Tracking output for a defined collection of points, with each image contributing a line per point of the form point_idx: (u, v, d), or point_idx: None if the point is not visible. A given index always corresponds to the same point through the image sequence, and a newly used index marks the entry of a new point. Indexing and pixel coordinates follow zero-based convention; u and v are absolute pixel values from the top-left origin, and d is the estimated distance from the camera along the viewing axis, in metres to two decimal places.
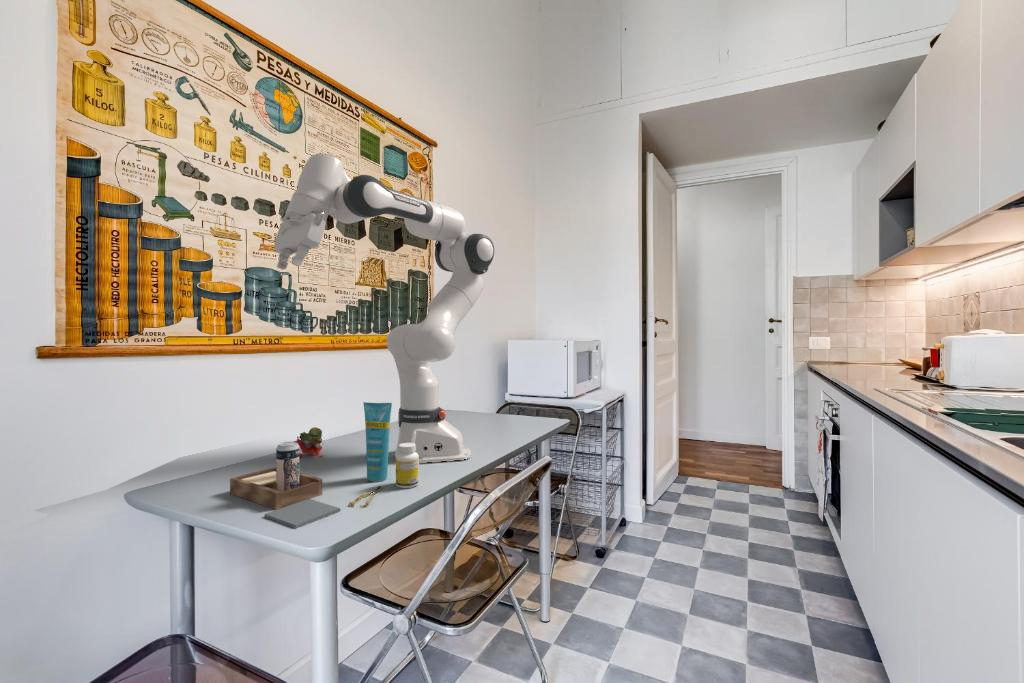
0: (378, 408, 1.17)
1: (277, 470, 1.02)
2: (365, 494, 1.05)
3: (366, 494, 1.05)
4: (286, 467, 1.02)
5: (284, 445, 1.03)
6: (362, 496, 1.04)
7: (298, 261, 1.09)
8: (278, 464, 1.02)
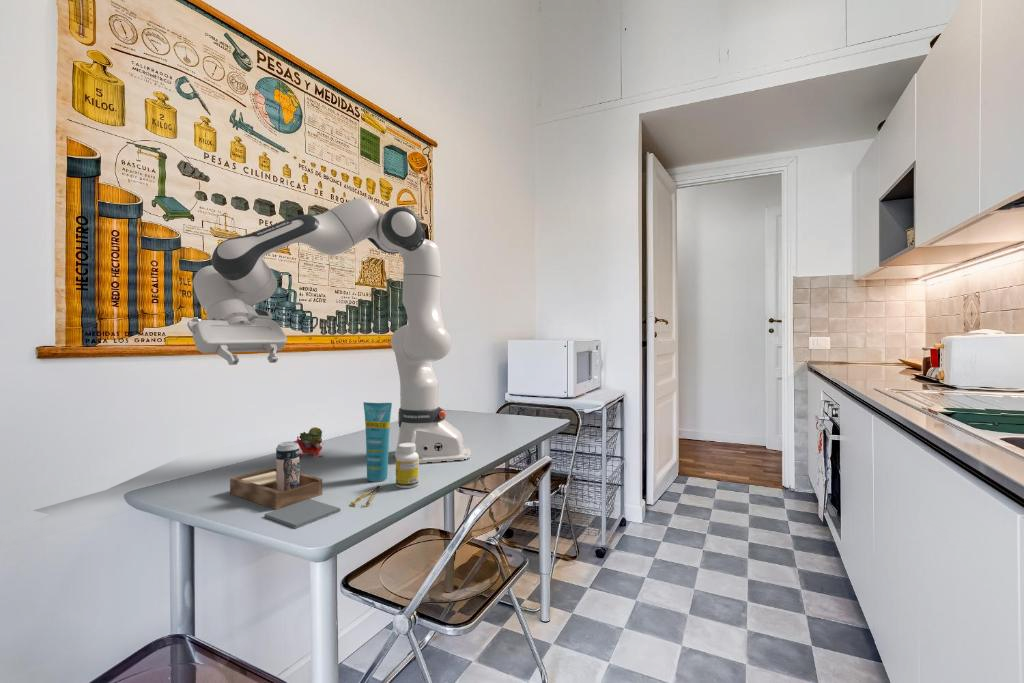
0: (378, 408, 1.17)
1: (277, 470, 1.02)
2: (365, 494, 1.05)
3: (366, 494, 1.05)
4: (286, 467, 1.02)
5: (284, 445, 1.03)
6: (362, 496, 1.04)
7: (229, 360, 1.05)
8: (278, 464, 1.02)
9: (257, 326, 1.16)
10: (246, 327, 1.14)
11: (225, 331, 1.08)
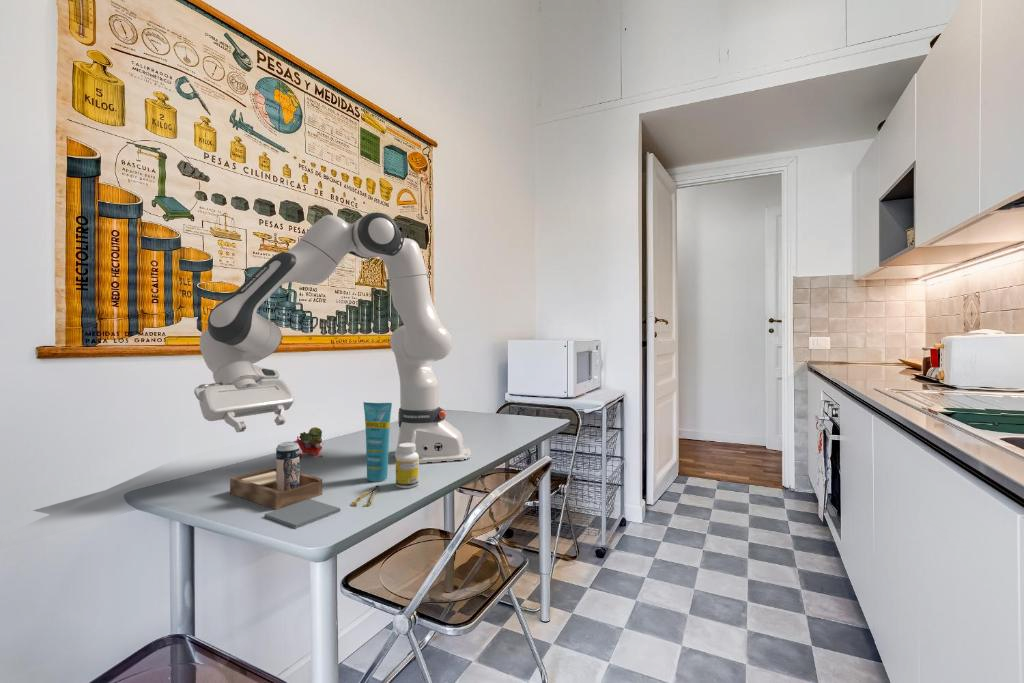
0: (378, 408, 1.17)
1: (277, 470, 1.02)
2: (365, 493, 1.05)
3: (366, 493, 1.06)
4: (286, 467, 1.02)
5: (284, 445, 1.03)
6: (363, 495, 1.04)
7: (237, 427, 1.04)
8: (278, 464, 1.02)
9: (264, 387, 1.15)
10: (253, 389, 1.13)
11: (232, 396, 1.07)
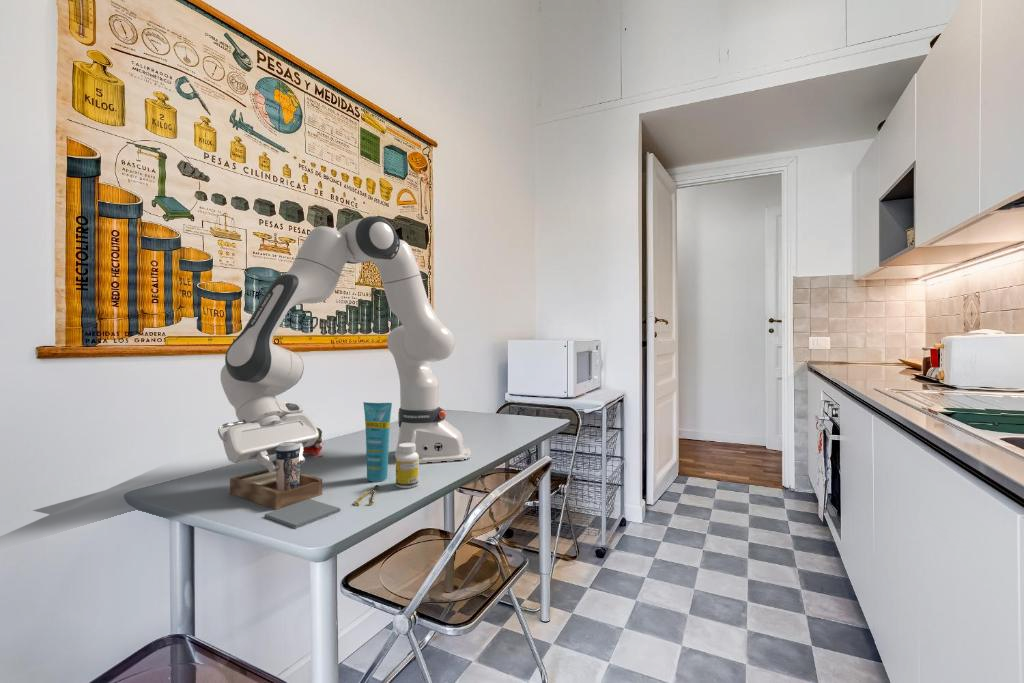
0: (378, 408, 1.17)
1: (277, 470, 1.02)
2: (366, 493, 1.06)
3: (367, 493, 1.06)
4: (287, 467, 1.02)
5: (284, 445, 1.03)
6: (364, 495, 1.05)
7: (270, 467, 1.01)
8: None
9: (288, 423, 1.10)
10: (277, 426, 1.08)
11: (257, 436, 1.02)
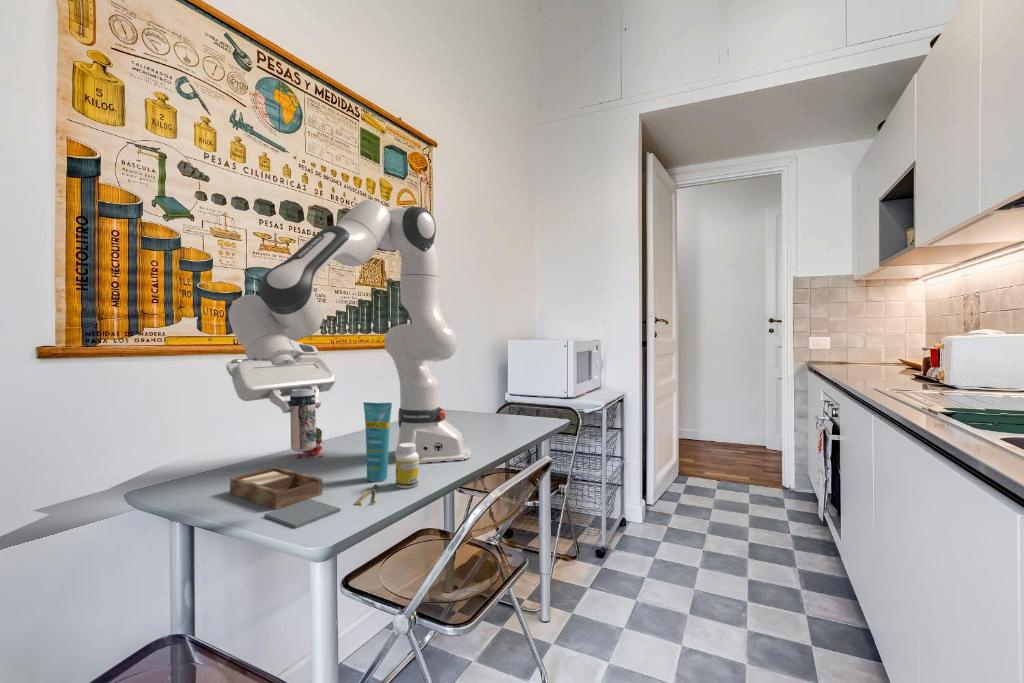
0: (378, 408, 1.17)
1: (291, 418, 0.93)
2: (367, 492, 1.06)
3: (367, 492, 1.06)
4: (302, 414, 0.92)
5: (299, 391, 0.93)
6: (365, 494, 1.05)
7: (284, 408, 0.92)
8: (292, 411, 0.93)
9: (302, 364, 1.01)
10: (291, 367, 0.98)
11: (269, 374, 0.93)
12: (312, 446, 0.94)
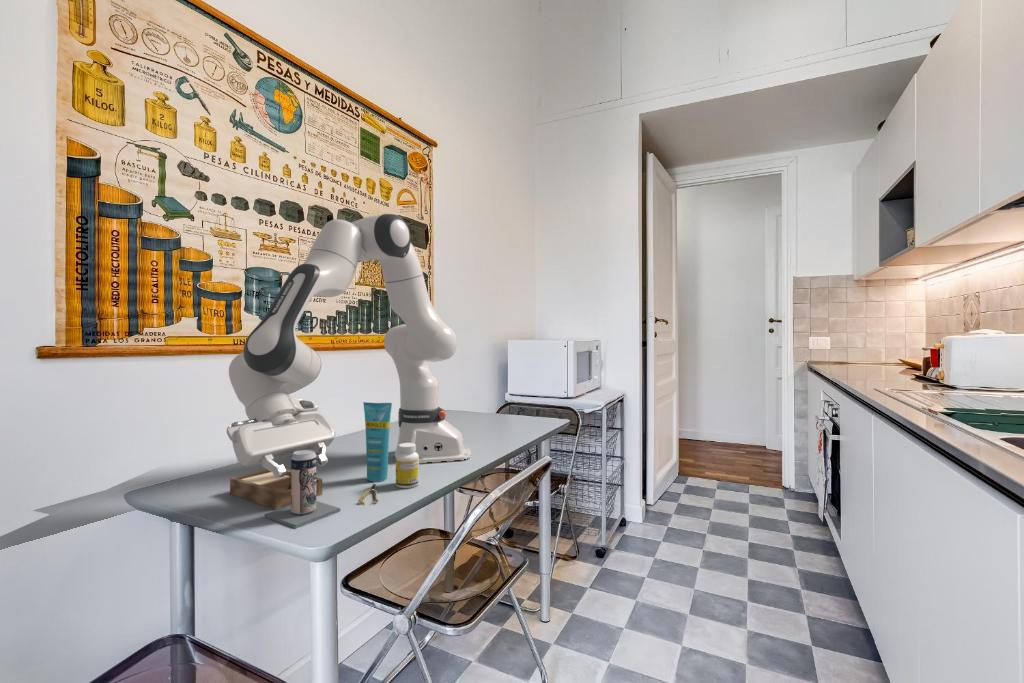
0: (378, 408, 1.17)
1: (292, 481, 0.93)
2: (367, 492, 1.06)
3: (368, 492, 1.07)
4: (302, 478, 0.92)
5: (300, 454, 0.93)
6: (365, 494, 1.05)
7: (276, 473, 0.90)
8: (293, 475, 0.93)
9: (302, 422, 1.01)
10: (291, 425, 0.99)
11: (269, 436, 0.93)
12: (312, 509, 0.94)
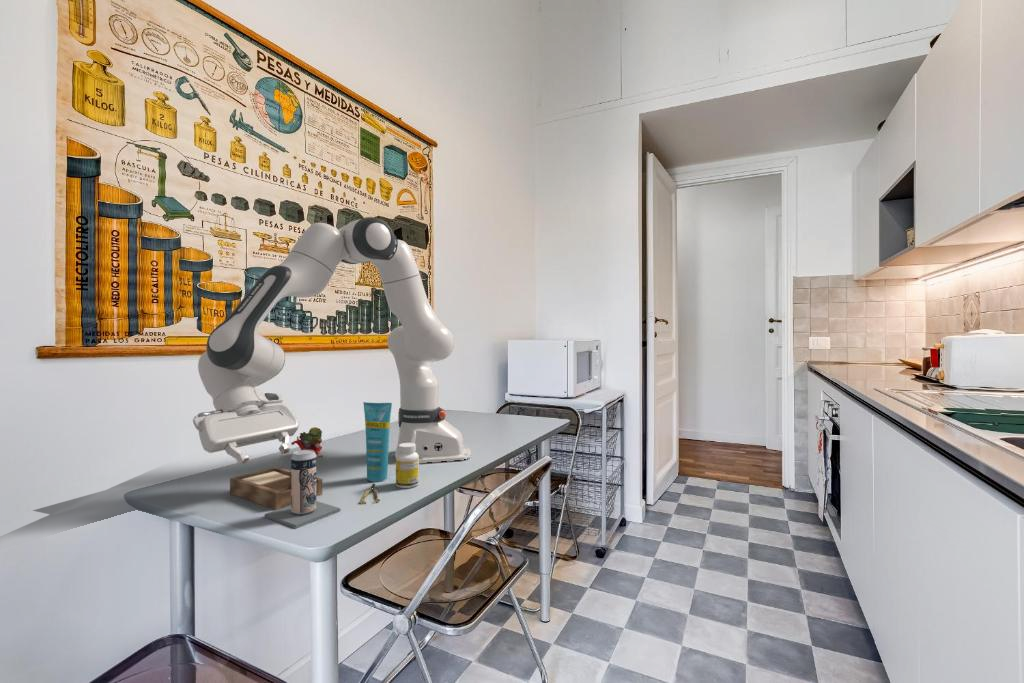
0: (378, 408, 1.17)
1: (292, 481, 0.93)
2: (368, 491, 1.07)
3: (368, 491, 1.07)
4: (302, 478, 0.92)
5: (300, 454, 0.93)
6: (366, 493, 1.05)
7: (239, 459, 0.98)
8: (293, 475, 0.93)
9: (267, 413, 1.08)
10: (256, 416, 1.06)
11: (234, 425, 1.00)
12: (312, 509, 0.94)
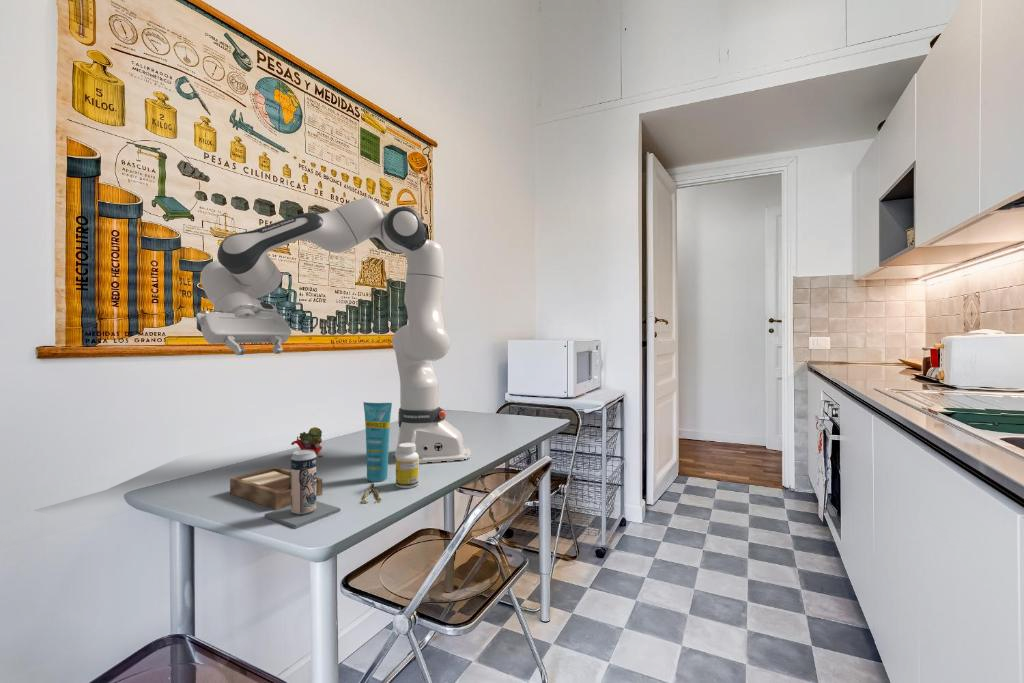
0: (378, 408, 1.17)
1: (292, 481, 0.93)
2: (368, 491, 1.07)
3: (368, 491, 1.07)
4: (302, 478, 0.92)
5: (300, 454, 0.93)
6: (367, 493, 1.06)
7: (236, 350, 1.10)
8: (293, 475, 0.93)
9: (262, 319, 1.20)
10: (252, 319, 1.18)
11: (232, 323, 1.12)
12: (312, 509, 0.94)
